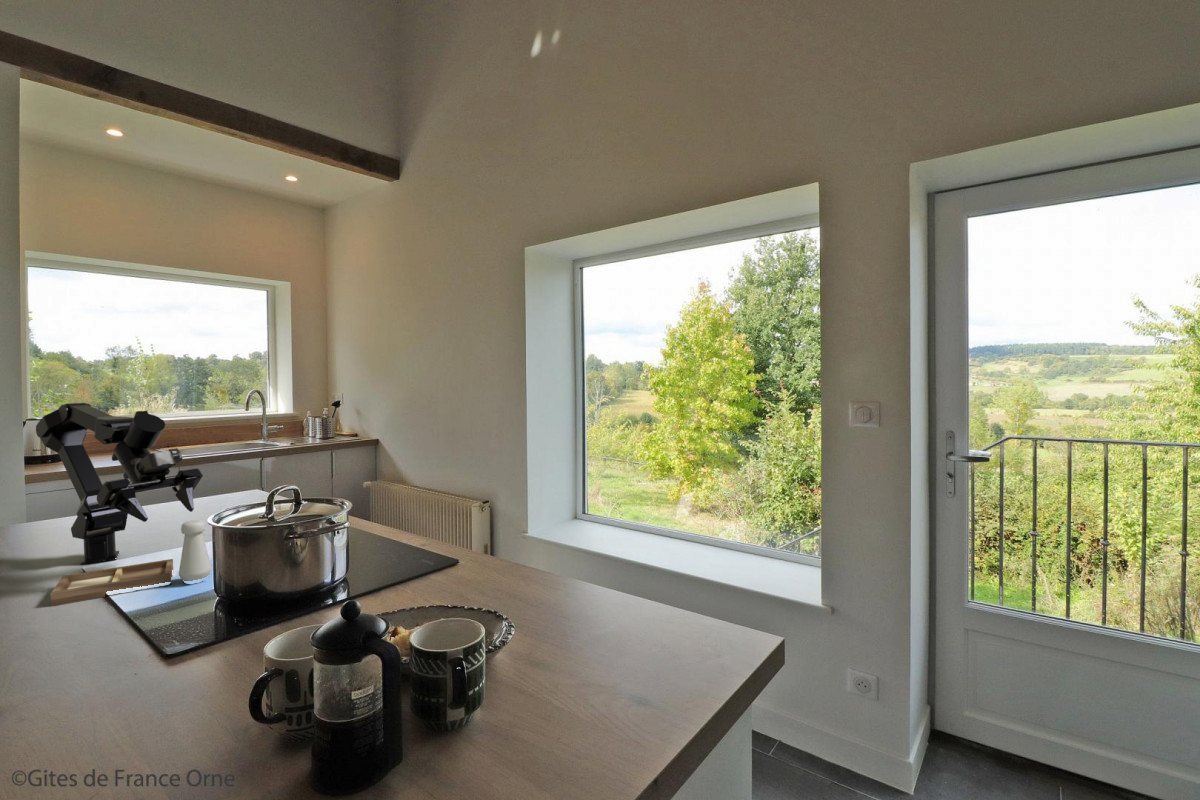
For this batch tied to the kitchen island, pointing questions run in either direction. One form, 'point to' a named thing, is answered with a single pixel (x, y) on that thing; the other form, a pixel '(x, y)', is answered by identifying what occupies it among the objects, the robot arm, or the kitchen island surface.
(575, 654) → the kitchen island surface
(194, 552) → the salt shaker
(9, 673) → the kitchen island surface
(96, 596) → the brown flat rectangular tray
